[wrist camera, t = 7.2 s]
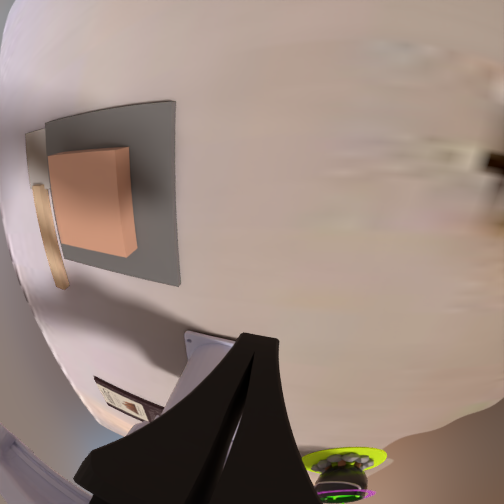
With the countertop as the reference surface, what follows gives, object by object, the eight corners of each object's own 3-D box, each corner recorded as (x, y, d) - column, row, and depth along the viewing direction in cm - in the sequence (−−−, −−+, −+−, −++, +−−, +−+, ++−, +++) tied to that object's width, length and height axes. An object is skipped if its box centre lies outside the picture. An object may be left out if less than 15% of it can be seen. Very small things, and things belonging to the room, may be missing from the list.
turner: (77, 288, 26) (72, 292, 25) (54, 279, 27) (49, 284, 26) (50, 127, 18) (42, 128, 17) (28, 133, 19) (21, 135, 18)
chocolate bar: (198, 442, 37) (108, 405, 40) (199, 438, 38) (110, 401, 40) (195, 421, 33) (93, 378, 35) (197, 416, 34) (96, 374, 36)
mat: (181, 283, 22) (178, 286, 22) (67, 256, 24) (64, 258, 24) (175, 101, 16) (172, 101, 15) (48, 122, 18) (45, 123, 17)
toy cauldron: (337, 439, 30) (330, 508, 20) (404, 451, 30) (406, 507, 21) (283, 464, 37) (271, 516, 28) (347, 476, 38) (342, 522, 28)
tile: (126, 257, 19) (61, 243, 21) (138, 247, 21) (73, 235, 22) (115, 150, 16) (47, 156, 17) (130, 146, 17) (62, 151, 18)
